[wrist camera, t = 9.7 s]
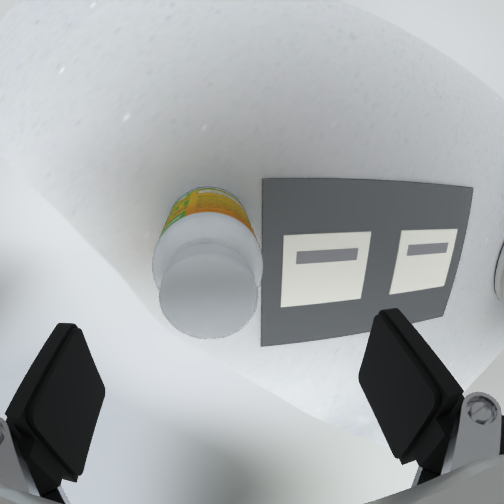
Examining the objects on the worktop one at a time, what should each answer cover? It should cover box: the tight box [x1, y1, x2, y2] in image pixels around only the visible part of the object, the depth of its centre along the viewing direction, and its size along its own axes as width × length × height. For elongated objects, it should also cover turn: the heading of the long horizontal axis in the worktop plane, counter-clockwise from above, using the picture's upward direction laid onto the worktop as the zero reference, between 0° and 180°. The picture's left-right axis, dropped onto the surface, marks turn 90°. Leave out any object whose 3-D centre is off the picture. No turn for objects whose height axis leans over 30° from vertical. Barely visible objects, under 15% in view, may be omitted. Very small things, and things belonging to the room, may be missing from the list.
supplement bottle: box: [152, 187, 263, 339], centre depth 16 cm, size 5×5×10 cm
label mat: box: [261, 178, 473, 347], centre depth 24 cm, size 20×14×1 cm
